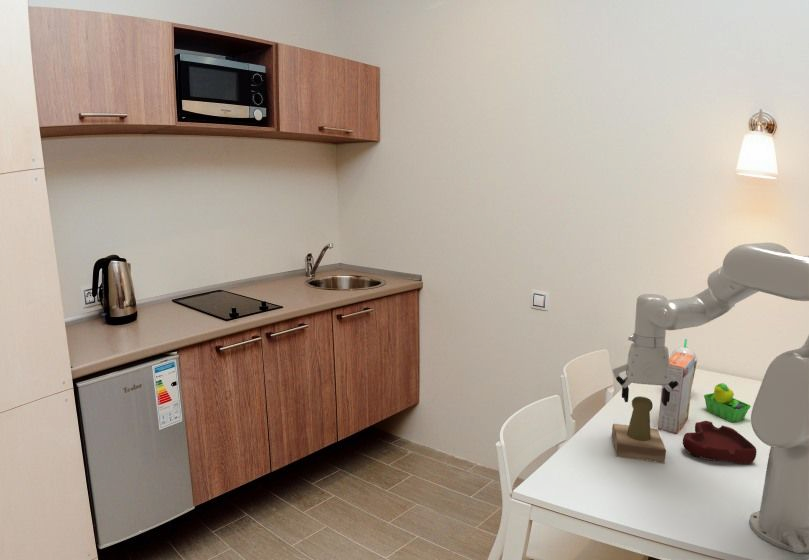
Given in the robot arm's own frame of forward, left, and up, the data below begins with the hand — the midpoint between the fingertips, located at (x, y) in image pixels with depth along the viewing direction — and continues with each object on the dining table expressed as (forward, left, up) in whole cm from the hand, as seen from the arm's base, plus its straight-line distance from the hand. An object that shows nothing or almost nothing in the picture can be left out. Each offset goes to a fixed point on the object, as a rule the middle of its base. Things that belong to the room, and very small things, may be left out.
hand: (644, 402), depth 146 cm
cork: (+1, +1, -10) cm, 10 cm away
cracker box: (+21, -12, -14) cm, 28 cm away
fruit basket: (+32, -29, -15) cm, 46 cm away
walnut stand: (+1, +1, -14) cm, 14 cm away
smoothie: (+46, -19, -14) cm, 52 cm away
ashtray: (+5, -21, -15) cm, 26 cm away
